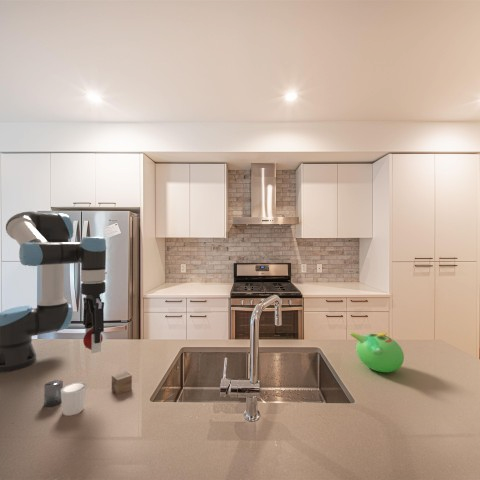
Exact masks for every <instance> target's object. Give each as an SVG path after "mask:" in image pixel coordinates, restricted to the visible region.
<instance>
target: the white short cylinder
mask: <svg viewBox="0 0 480 480" xmlns="http://www.w3.org/2000/svg"><path fill="white" fill-rule="evenodd" d="M86 389H87V383H85V382H83V381H82V382H81V381H78V382H73V383H69V384H66V385H65V386H64V385H63V388H62V389H61V401H62V402H61V410H62V414H63V415H64V416H67V417H68V416H73V415H77V414H80V412H83V410H85V400H86Z"/></svg>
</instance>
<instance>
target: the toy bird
mask: <svg viewBox="0 0 480 480" xmlns="http://www.w3.org/2000/svg"><path fill="white" fill-rule="evenodd" d="M387 334H388V333H387V332H381V333H380V332H378V333H368V334H365V335H363V334H362V335H361V334H359V333H355V332H350V333H349V335H350V336H351V337H353V338H354V339H355V340H357V343H356V346H355V347H356V348H355V349H356V353H357V356H358V358H359V360H360V362H362V363H363V364H364V365H365V366H366V367H367V368H369V369H371V370H373V371H376V372H379V373H393V372H395V371H398V369H399V370H400V368H401V366H402V365H403V363H404V361H405V354H404V351H403V349H402V347H401V346H400V344H399V343H398V342H397V341H396V340H394V339H393V338H391V337H390V336H387Z"/></svg>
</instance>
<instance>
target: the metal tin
mask: <svg viewBox="0 0 480 480" xmlns="http://www.w3.org/2000/svg"><path fill="white" fill-rule="evenodd" d="M63 387H64V381H63V380H62V379H55V380H52V381H48V382H47V383H45V384H44V386H43V388H44V389H43V390H44V392H43V398H44V399H43V400H44V401H43V404H44V405H43V406H44V407H46V408H47V407H48V408H53V407H56V406H58V405H60V404H62V401H61V389H62V388H63Z"/></svg>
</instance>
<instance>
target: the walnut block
mask: <svg viewBox="0 0 480 480" xmlns="http://www.w3.org/2000/svg"><path fill="white" fill-rule="evenodd" d="M132 381H133V375H132V374H131V373H130V372H128V371H127V370H124V371H121V372H118V373H115V374H112V375H111V391H113V393H114V394H116V395H117V396H118V395H121V394H123V393H125V392H128V391H131V390H132V389H133V387H132V386H133V385H132V384H133V382H132Z"/></svg>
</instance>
